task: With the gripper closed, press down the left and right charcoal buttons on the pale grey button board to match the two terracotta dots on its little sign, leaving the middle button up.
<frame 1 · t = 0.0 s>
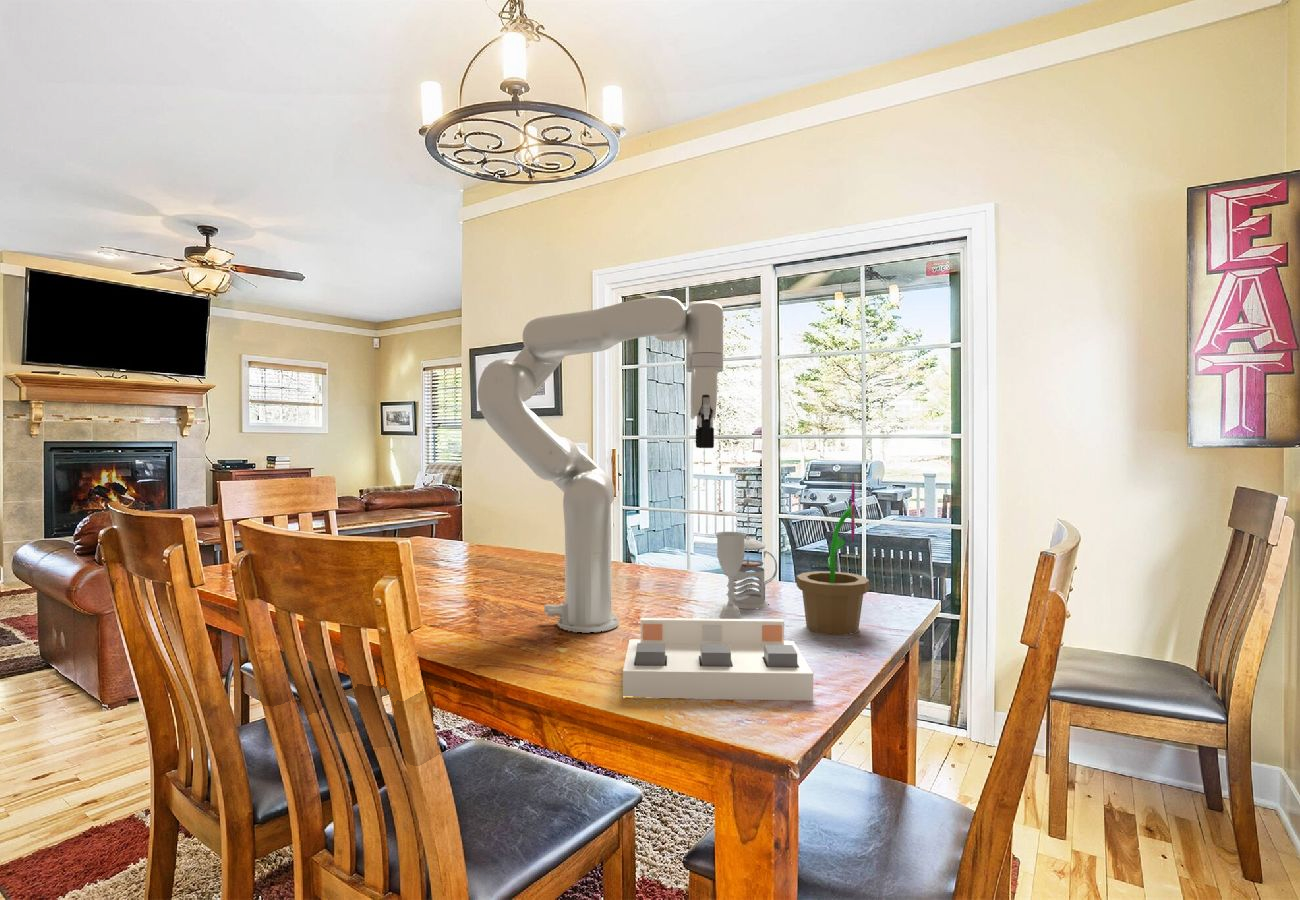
hand: (704, 447, 137), 37 cm above the table, tool pointing down, fingers open, 9 cm apart
chalice: (730, 617, 146), on the table
button right: (780, 658, 103), point 4 cm above the table, slide at 0.0 cm
button left: (650, 657, 104), point 4 cm above the table, slide at 0.0 cm
french press: (751, 604, 157), on the table
button board: (714, 680, 107), on the table
button middle: (715, 657, 104), point 4 cm above the table, slide at 0.0 cm
flowerpot: (832, 628, 137), on the table
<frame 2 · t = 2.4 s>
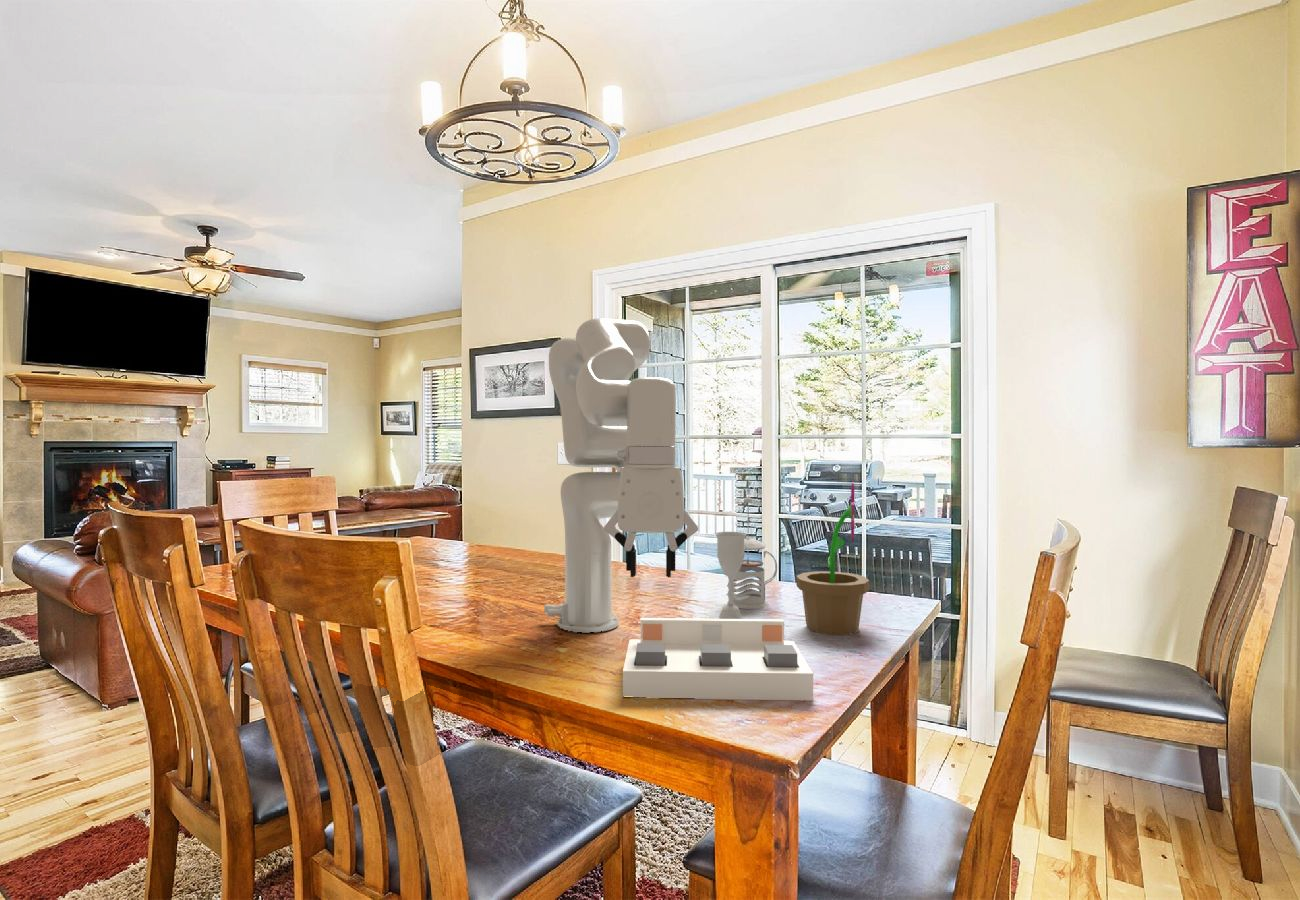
hand: (650, 574, 104), 17 cm above the table, tool pointing down, fingers open, 4 cm apart
nothing on the table moved.
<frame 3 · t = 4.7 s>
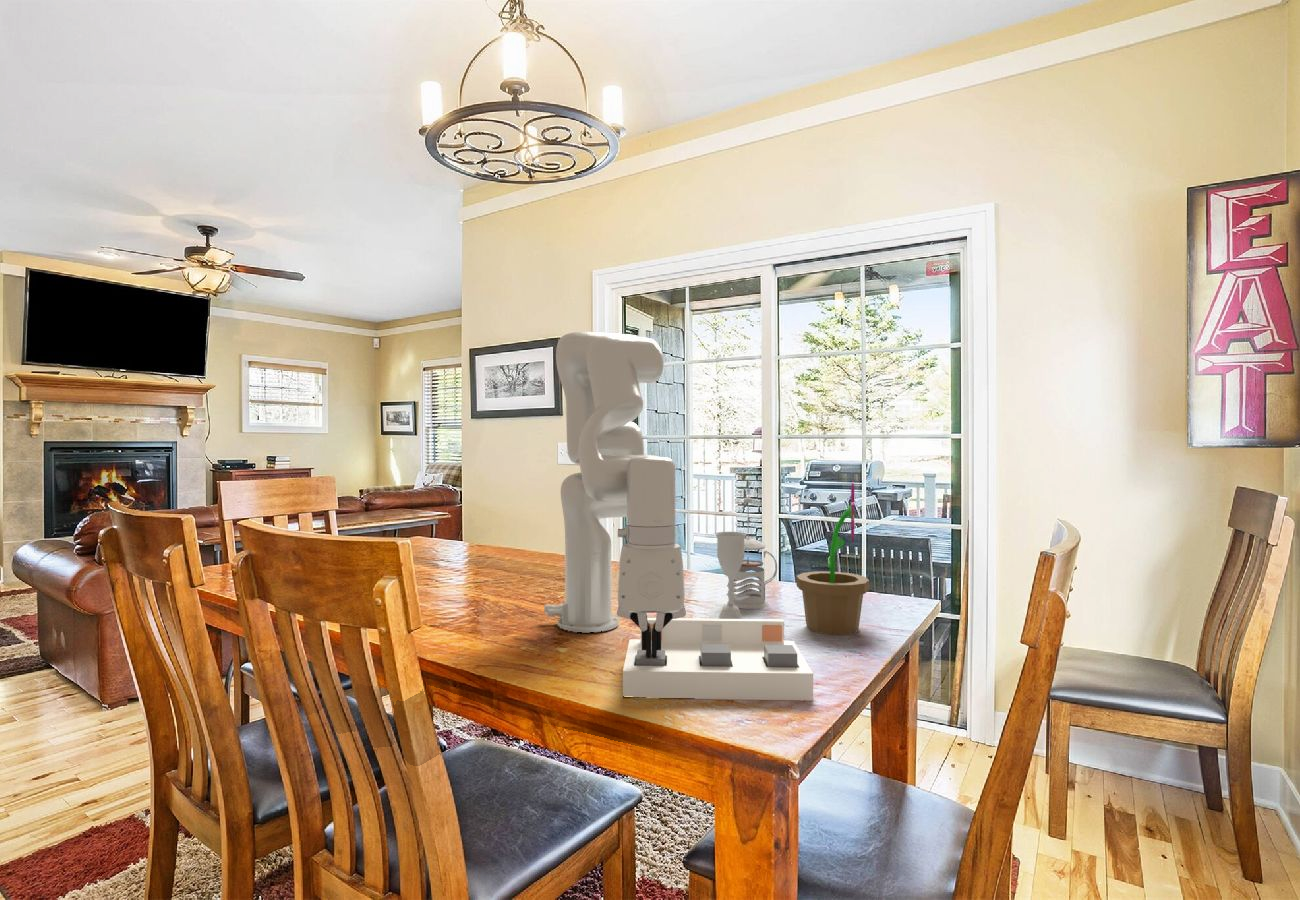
hand: (651, 654, 104), 5 cm above the table, tool pointing down, fingers closed
button left: (650, 663, 104), point 3 cm above the table, slide at 1.0 cm, touching gripper
everything else where it was.
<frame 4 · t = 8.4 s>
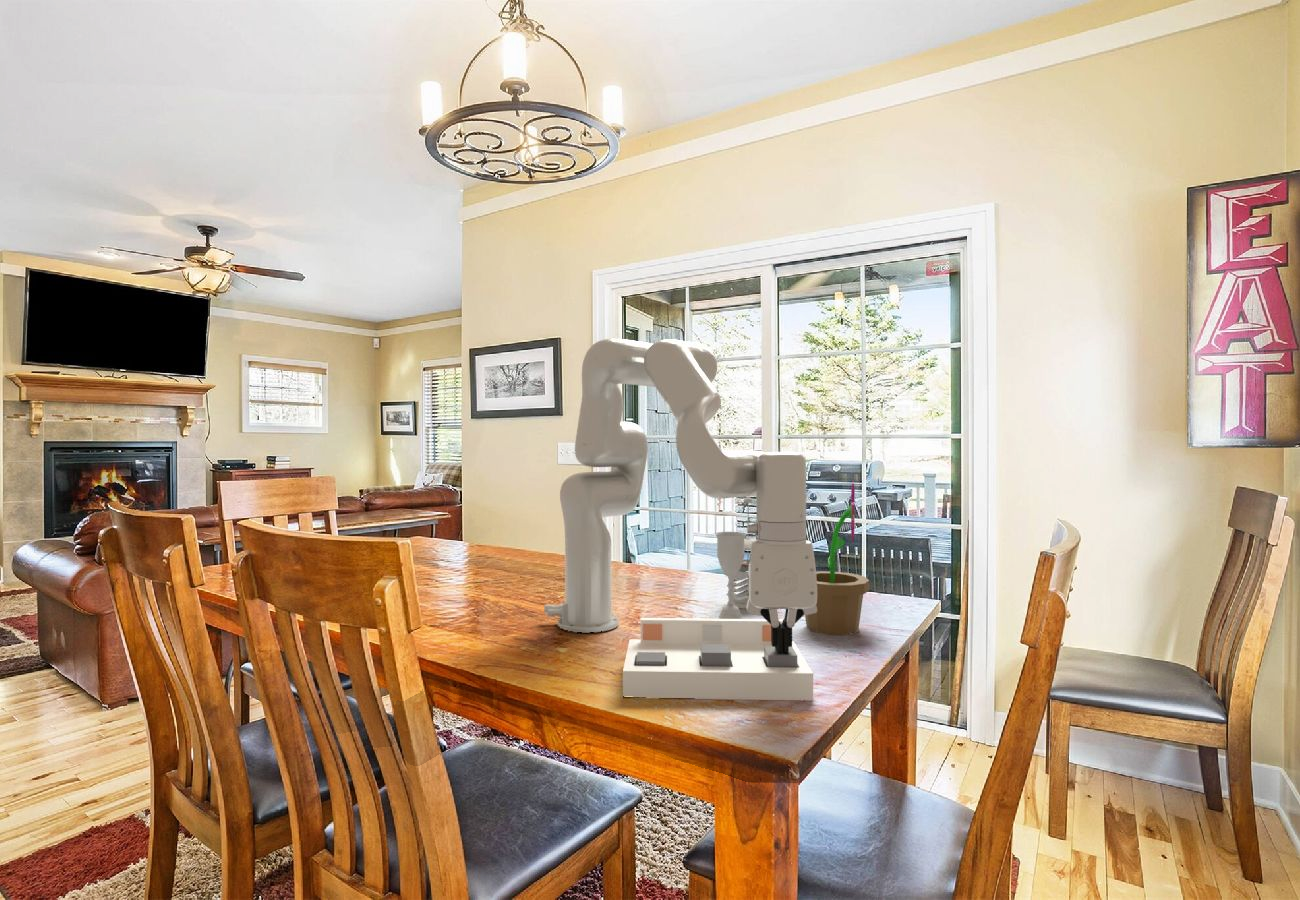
hand: (781, 651, 103), 6 cm above the table, tool pointing down, fingers closed
button right: (780, 660, 103), point 4 cm above the table, slide at 0.3 cm, touching gripper
button left: (650, 666, 104), point 3 cm above the table, slide at 1.4 cm
everything else where it was.
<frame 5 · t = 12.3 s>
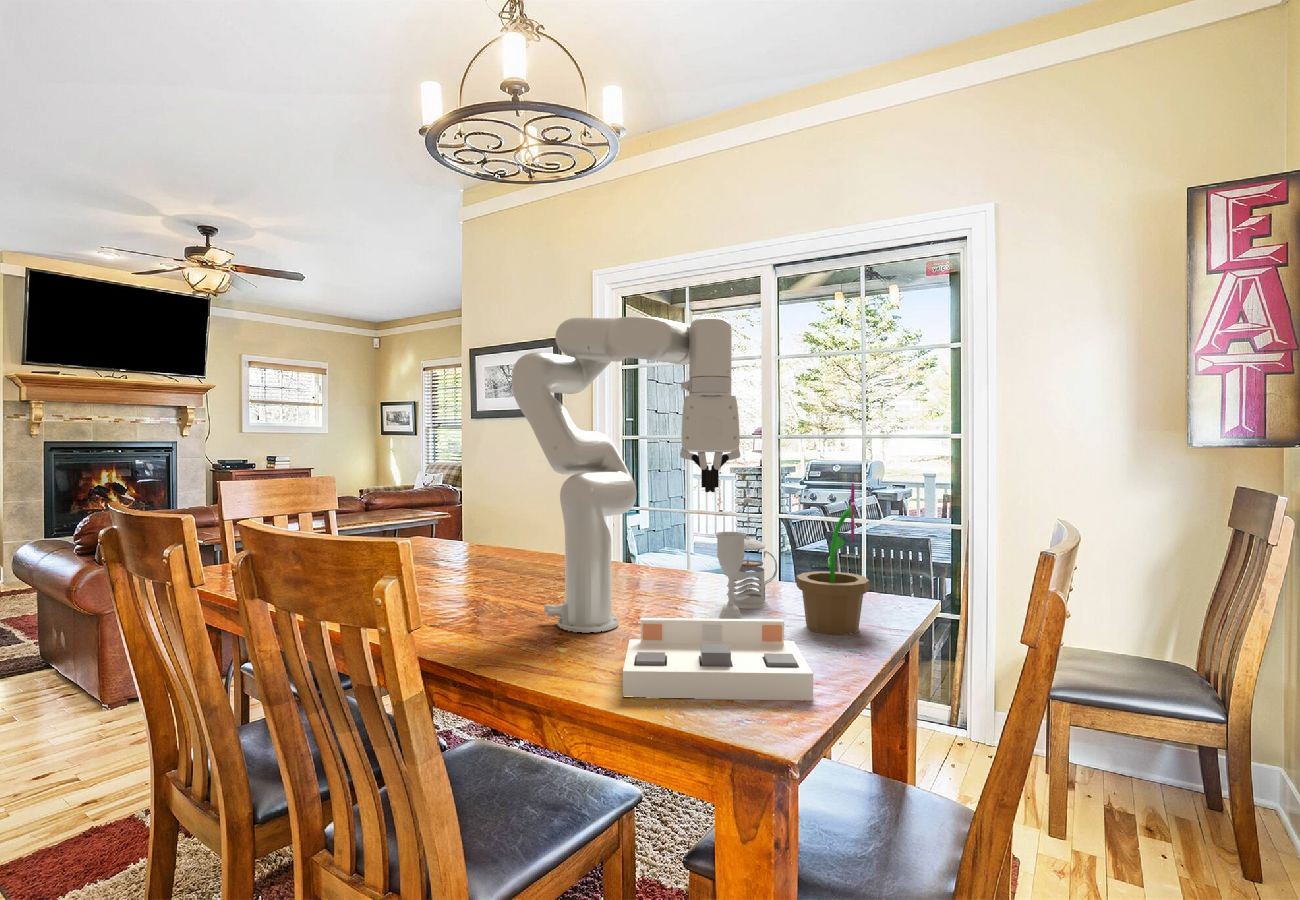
hand: (709, 491, 119), 29 cm above the table, tool pointing down, fingers closed
button right: (780, 667, 103), point 3 cm above the table, slide at 1.4 cm
everything else where it was.
at the end: button left slide at 1.4 cm; button right slide at 1.4 cm; button middle slide at 0.0 cm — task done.
